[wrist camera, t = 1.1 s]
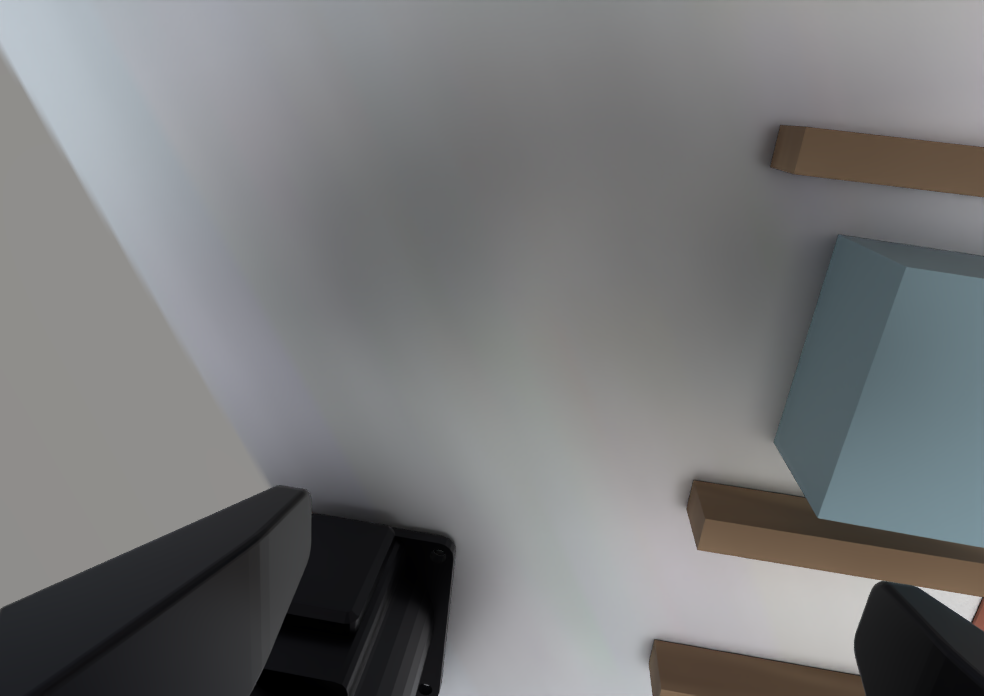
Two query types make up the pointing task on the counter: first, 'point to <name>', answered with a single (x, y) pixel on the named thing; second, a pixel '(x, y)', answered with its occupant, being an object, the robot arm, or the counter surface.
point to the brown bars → (790, 519)
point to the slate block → (893, 393)
